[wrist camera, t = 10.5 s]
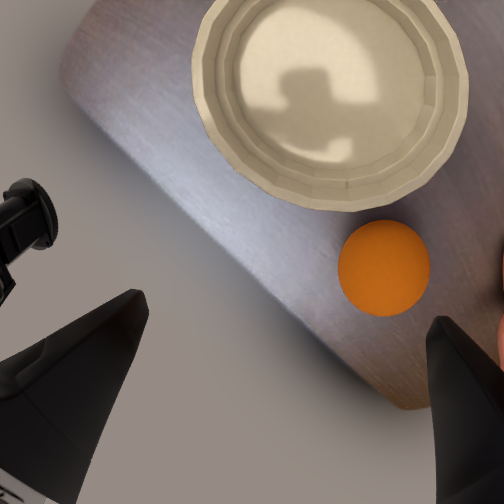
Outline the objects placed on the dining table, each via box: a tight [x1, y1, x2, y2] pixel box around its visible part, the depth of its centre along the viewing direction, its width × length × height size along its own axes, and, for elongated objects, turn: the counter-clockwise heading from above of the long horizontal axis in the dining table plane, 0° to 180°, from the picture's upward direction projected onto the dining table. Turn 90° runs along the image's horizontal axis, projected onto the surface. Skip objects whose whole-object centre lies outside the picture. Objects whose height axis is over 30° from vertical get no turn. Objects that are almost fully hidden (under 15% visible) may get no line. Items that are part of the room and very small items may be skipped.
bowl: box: [191, 0, 469, 212], centre depth 14 cm, size 14×14×4 cm
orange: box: [338, 220, 430, 316], centre depth 18 cm, size 6×6×6 cm
